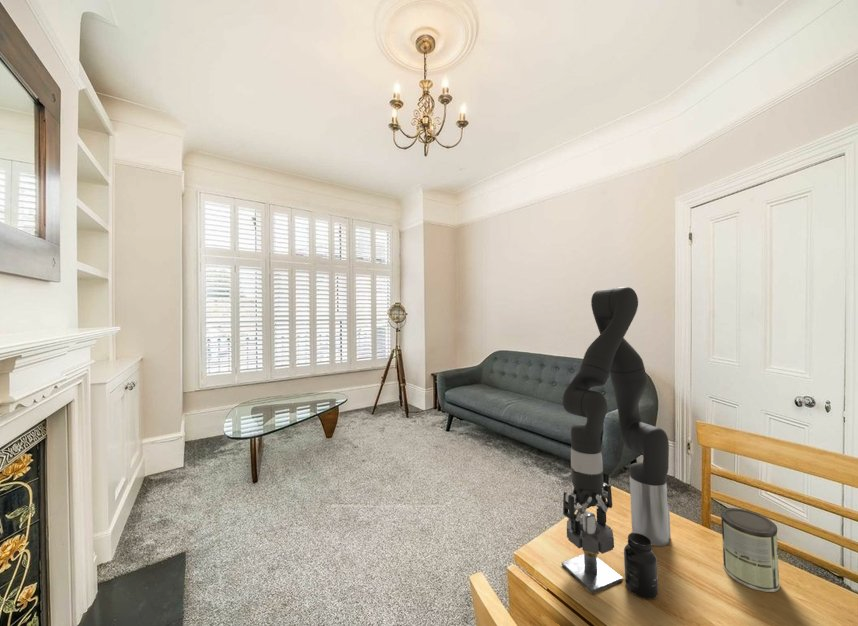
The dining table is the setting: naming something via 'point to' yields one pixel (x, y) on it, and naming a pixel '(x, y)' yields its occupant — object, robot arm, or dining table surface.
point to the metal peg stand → (591, 564)
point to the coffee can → (750, 549)
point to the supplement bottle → (640, 567)
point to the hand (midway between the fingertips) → (588, 528)
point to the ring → (592, 538)
